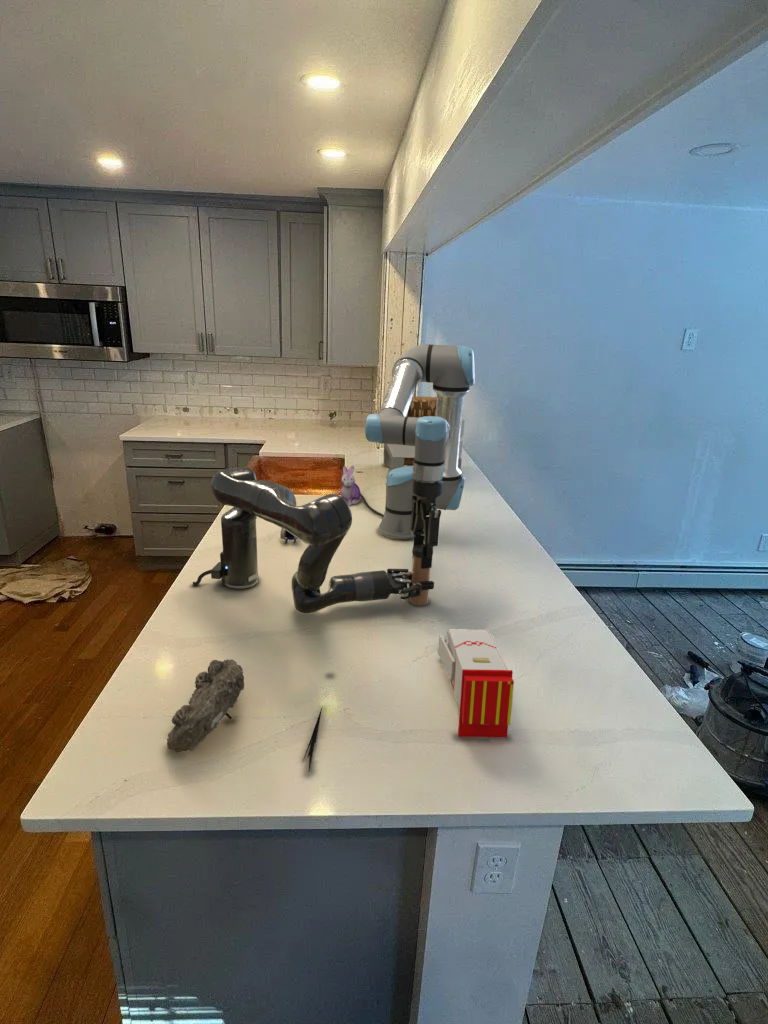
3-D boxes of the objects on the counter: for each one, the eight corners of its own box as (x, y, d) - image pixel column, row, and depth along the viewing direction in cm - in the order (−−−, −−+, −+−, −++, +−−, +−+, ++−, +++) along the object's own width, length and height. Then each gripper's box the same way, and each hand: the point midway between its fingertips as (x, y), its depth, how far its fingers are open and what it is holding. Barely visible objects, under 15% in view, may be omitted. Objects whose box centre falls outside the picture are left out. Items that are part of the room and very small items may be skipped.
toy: (488, 613, 130) (523, 677, 101) (484, 667, 133) (517, 744, 104) (435, 612, 130) (455, 676, 101) (432, 666, 133) (451, 743, 103)
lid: (422, 548, 153) (422, 542, 153) (436, 554, 150) (437, 548, 149) (407, 553, 150) (408, 547, 149) (422, 560, 146) (423, 554, 146)
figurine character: (300, 550, 186) (305, 528, 199) (299, 529, 183) (304, 509, 196) (279, 549, 186) (286, 528, 199) (278, 529, 182) (285, 508, 196)
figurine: (344, 507, 223) (345, 470, 218) (334, 499, 232) (334, 463, 227) (366, 504, 228) (367, 468, 223) (355, 496, 236) (356, 461, 231)
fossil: (192, 660, 117) (244, 628, 112) (224, 691, 120) (276, 661, 115) (142, 746, 98) (202, 712, 93) (182, 779, 101) (242, 748, 96)
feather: (331, 679, 122) (336, 673, 122) (307, 777, 96) (313, 769, 95) (324, 675, 122) (329, 669, 121) (298, 772, 95) (304, 764, 95)
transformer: (382, 463, 289) (386, 382, 275) (445, 464, 293) (451, 384, 279) (390, 482, 257) (394, 392, 243) (460, 483, 261) (468, 394, 247)
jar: (418, 595, 158) (422, 544, 153) (431, 602, 154) (435, 550, 149) (406, 600, 155) (409, 548, 149) (419, 607, 151) (422, 555, 146)
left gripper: (377, 585, 141) (440, 579, 145) (362, 561, 154) (421, 556, 158) (376, 612, 143) (438, 605, 148) (361, 586, 156) (419, 580, 161)
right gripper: (457, 489, 136) (449, 576, 144) (427, 468, 152) (421, 548, 160) (428, 490, 133) (422, 579, 141) (401, 470, 150) (396, 550, 157)
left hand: (429, 580), depth 153 cm, fingers closed on jar, 5 cm apart
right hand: (421, 562), depth 151 cm, fingers closed on lid, 5 cm apart
